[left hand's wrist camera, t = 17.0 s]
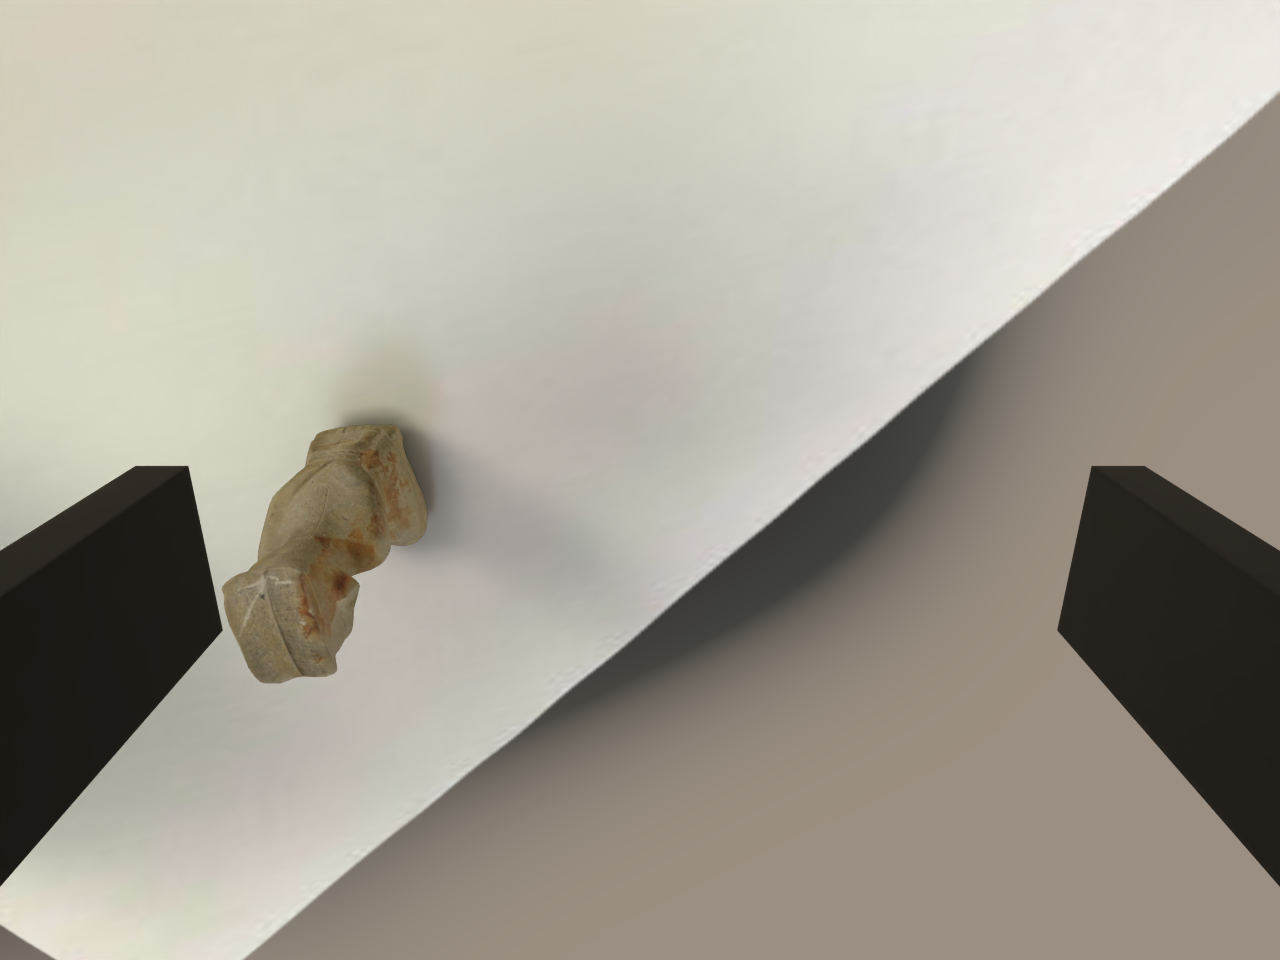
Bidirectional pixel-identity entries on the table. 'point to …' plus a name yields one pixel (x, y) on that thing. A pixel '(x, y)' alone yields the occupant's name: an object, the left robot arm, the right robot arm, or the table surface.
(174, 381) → the table surface
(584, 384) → the table surface
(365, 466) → the sculpture
